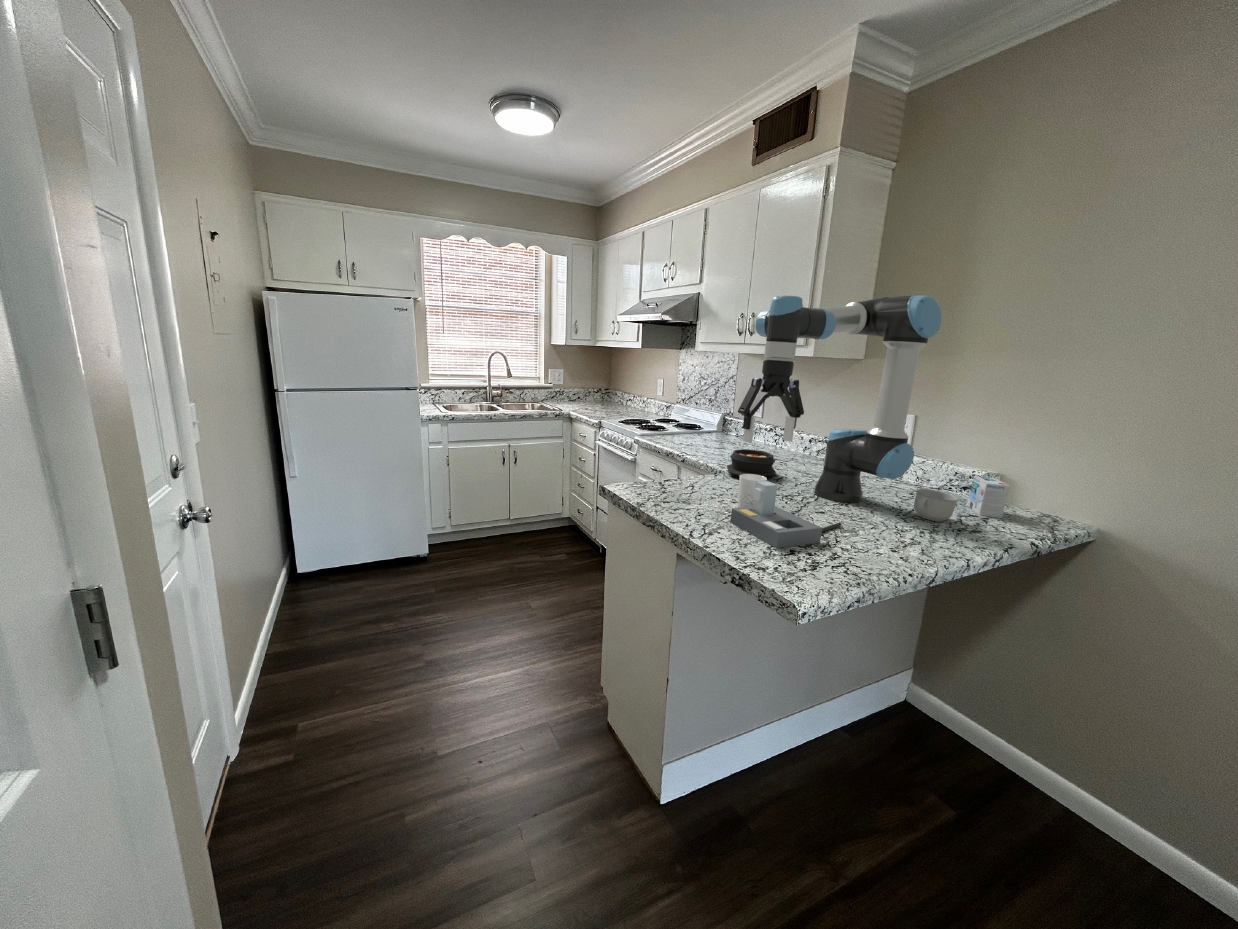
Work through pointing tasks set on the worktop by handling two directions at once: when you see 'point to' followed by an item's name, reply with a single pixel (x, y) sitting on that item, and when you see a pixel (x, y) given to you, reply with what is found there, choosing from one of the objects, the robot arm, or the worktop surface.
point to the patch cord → (831, 527)
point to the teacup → (934, 504)
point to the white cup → (748, 489)
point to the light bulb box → (988, 496)
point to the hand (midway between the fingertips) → (767, 441)
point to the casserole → (751, 463)
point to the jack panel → (777, 527)
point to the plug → (764, 498)
